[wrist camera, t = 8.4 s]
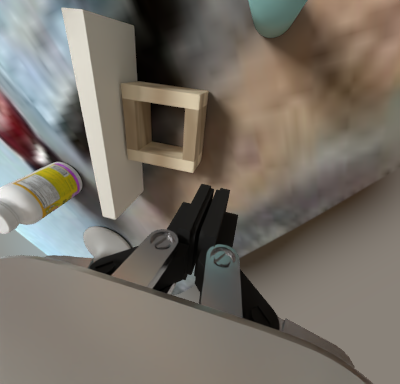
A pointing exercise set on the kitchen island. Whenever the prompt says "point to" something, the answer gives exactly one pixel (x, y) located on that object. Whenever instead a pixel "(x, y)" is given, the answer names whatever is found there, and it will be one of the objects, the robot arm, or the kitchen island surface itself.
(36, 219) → the supplement bottle
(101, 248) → the chalice
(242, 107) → the kitchen island surface
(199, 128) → the light wooden square frame
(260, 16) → the dowel
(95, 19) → the wall
